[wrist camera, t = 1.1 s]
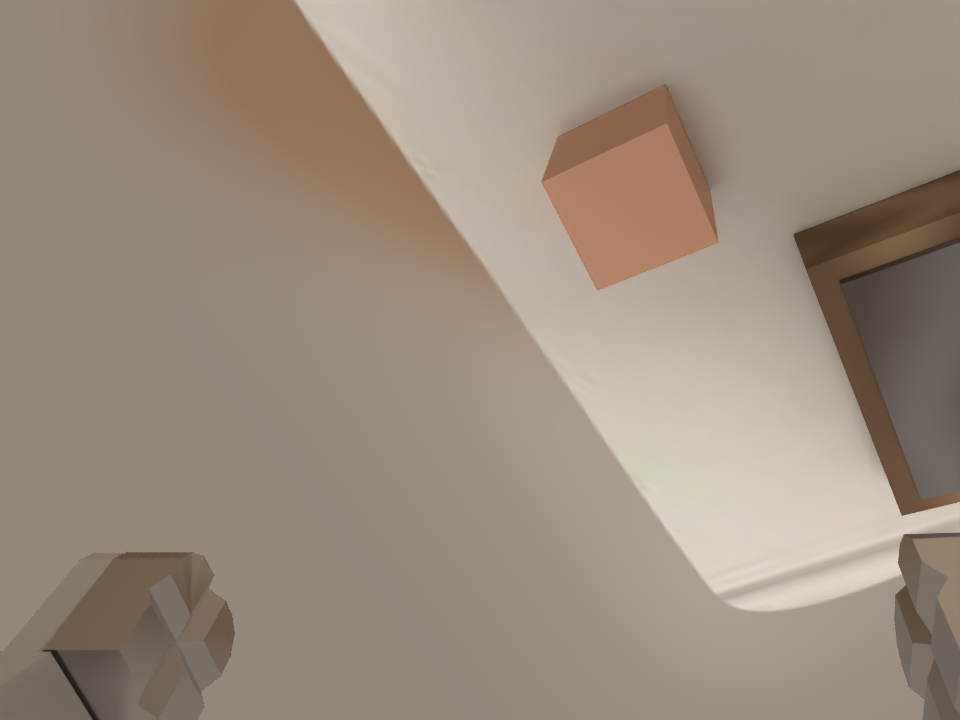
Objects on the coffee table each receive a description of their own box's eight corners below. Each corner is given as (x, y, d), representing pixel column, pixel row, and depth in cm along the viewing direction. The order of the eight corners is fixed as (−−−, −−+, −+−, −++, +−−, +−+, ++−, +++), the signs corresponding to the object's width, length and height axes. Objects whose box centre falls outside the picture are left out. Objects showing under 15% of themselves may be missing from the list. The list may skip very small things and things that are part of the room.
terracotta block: (665, 84, 34) (666, 123, 29) (709, 188, 36) (718, 242, 31) (557, 136, 36) (541, 181, 31) (605, 233, 38) (597, 290, 33)
